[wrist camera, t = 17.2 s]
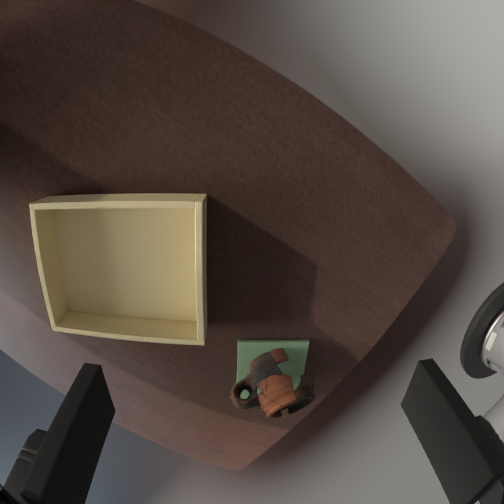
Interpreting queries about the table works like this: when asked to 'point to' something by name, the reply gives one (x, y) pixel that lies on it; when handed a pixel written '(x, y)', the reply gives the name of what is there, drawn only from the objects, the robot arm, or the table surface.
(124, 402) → the table surface
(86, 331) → the cream yellow tray
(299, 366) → the mat
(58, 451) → the robot arm
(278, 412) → the pottery mug
